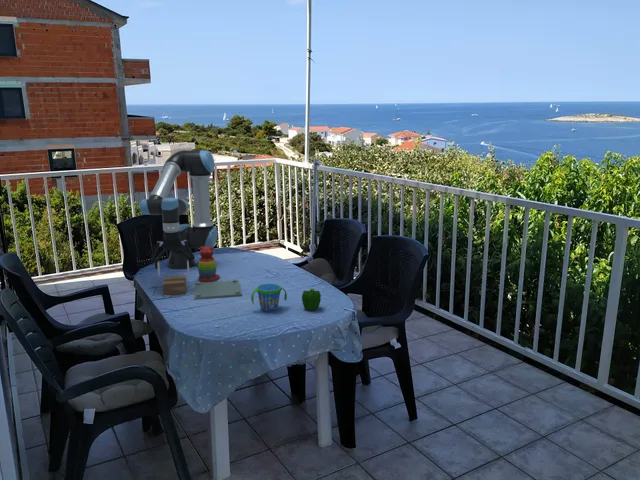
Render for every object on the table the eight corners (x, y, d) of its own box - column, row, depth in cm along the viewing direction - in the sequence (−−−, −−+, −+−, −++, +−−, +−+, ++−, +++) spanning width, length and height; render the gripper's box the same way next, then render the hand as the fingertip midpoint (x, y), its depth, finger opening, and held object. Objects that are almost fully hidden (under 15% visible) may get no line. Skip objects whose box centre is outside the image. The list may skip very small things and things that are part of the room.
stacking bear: (221, 277, 275) (219, 244, 271) (215, 282, 266) (213, 249, 262) (201, 276, 276) (199, 243, 272) (194, 282, 267) (192, 248, 263)
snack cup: (285, 303, 236) (284, 282, 234) (288, 311, 226) (288, 289, 224) (250, 306, 233) (249, 284, 230) (252, 314, 223) (252, 292, 220)
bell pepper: (302, 305, 234) (302, 284, 232) (320, 305, 234) (320, 284, 231) (301, 312, 226) (301, 290, 223) (320, 312, 225) (320, 290, 223)
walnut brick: (165, 288, 258) (164, 276, 257) (186, 286, 260) (185, 275, 259) (163, 296, 246) (162, 284, 245) (185, 295, 248) (184, 283, 247)
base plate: (194, 285, 262) (194, 281, 261) (238, 282, 267) (238, 278, 266) (194, 299, 241) (194, 295, 241) (242, 296, 246) (242, 292, 246)
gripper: (143, 233, 240) (146, 278, 244) (198, 231, 246) (200, 274, 250) (144, 230, 247) (147, 273, 252) (198, 228, 253) (200, 270, 257)
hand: (173, 274), depth 251 cm, fingers open, 13 cm apart
